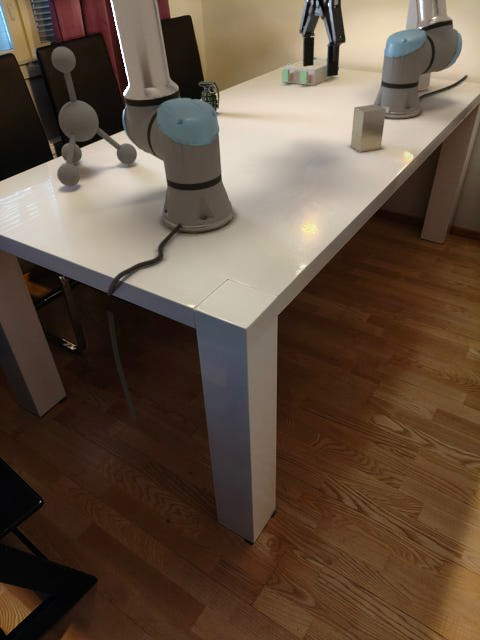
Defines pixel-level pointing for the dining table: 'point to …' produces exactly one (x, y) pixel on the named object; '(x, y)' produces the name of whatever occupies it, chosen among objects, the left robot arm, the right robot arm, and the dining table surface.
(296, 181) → the dining table surface
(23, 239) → the dining table surface
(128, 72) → the left robot arm
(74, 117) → the molecular model
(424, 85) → the electronic device
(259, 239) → the dining table surface
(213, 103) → the grenade
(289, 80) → the decorative block
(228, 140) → the dining table surface
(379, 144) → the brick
